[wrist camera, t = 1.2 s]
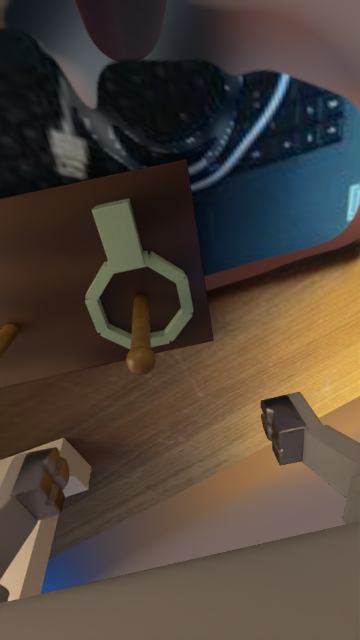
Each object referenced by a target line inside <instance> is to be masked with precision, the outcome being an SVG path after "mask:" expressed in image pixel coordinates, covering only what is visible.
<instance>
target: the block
mask: <svg viewBox="0 0 360 640" xmlns="http://www.w3.org/2000/svg"><path fill="white" fill-rule="evenodd" d="M53 447H57V448H58V449H59V451H60V457H62V458H64V459H66V461H67V463H68V466H69V480H68V484H67V486H66V487H65V488H64V489H63V493H64V495H65V497H68V496H71V495H74V494H77V493H79V492H82V491H85V490H88V487H89V483H88V481H89V480H90V473H91V468H92V467H91V466H90V465H89V464H88V463H87V462H86V461H85V460H84V459H83V458H82V456H81V455H80V454H79V453H78V452H77V451H76V450H75V449H74V448H73V447H72V446H71V445H70V444H69V443H68V442H67V441H66V439H65V438H61V439H59V440H56V441H53V442H50V443H47V444H44V445H42V446H39V447H36V448H33V449H30V450H28V451H25V452H22V453H19V454H23V453H28V452H33V451H38V450H43V449H48V448H53ZM19 454H16V455H19ZM16 455H14V456H11V457H8V458H5V459H2V460H0V487H1V484H2V482H3V480H4V477H5V475H6V473H7V470H8V468H9V466H10V463H11V461H12V459H13V458H14V457H15V456H16ZM58 516H59V515H58ZM58 516H55V517H51V518H47V519H43V520H39V521H38V523H37V525H36V526H35V528H34V529H33V531H32V532H31V534H30V535H29V537H28V538H27V540H26V541H25V543H24V544H23V546H22V547H21V549H20V551H19V552H18V554H17V555H16V557H15V558H14V560H13V561H12V563H11V564H10V566H9V567H8V569H7V570H6V572H5V573H4V575H3V576H2V578H1V579H0V584H1V585H2V586H4V587H5V588H7V589H8V590H9V593H10V594H9V598H8V601H12V600H16V599H20V598H25V597H29V596H34V595H38V594H40V593H41V588H42V584H43V580H44V576H45V571H46V567H47V563H48V559H49V554H50V550H51V546H52V541H53V537H54V533H55V528H56V524H57V520H58Z"/></svg>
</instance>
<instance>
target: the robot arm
mask: <svg viewBox="0 0 360 640" xmlns="http://www.w3.org/2000/svg"><path fill="white" fill-rule="evenodd" d="M261 409H262V411H263V413H262V414H261V418H262V424H263V428H264V431H265V434H266V436H267V438H268V439H269V440H270V441H272V448H273V452H274V454H275V456H276V458H277V460H278V462H279V465H285V464H290V463H295V462H300V461H302V462H303V463H304V464H305V465H306V466H307V467H309V468H310V469H311V470H312V471H314V472H315V473H316V474H317V475H318V476H320V477H321V478H322V479H323V480H325V481H326V482H327V483H328V484H330V485H331V486H332V487H333V488H334V489H336V490H337V491H338V492H339V493H340V494H342V495H343V496H344V497H345V498H347V500H346V505H345V509H344V513H343V517H342V518H343V519H344V521H345V523H346V525H342V526H337V527H333V528H329V529H324V530H320V531H316V532H311V533H307V534H302V535H298V536H294V537H289V538H285V539H280V540H276V541H271V542H267V543H263V544H258V545H254V546H250V547H245V548H240V549H236V550H232V551H227V552H223V553H218V554H214V555H210V556H206V557H201V558H196V559H192V560H188V561H183V562H179V563H174V564H170V565H166V566H161V567H157V568H153V569H148V570H144V571H139V572H135V573H130V574H126V575H122V576H117V577H113V578H108V579H104V580H100V581H95V582H91V583H87V584H82V585H78V586H73V587H69V588H64V589H61V590H56V591H51V592H47V593H42V594H38V595H34V596H29V597H25V598H20V599H16V600H12V601H8V598H9V594H10V593H9V590H8V589H7V588H5V587H4V586H2V585H1V584H0V640H360V443H358V442H357V441H355V440H353V439H351V438H350V437H348V436H346V435H344V434H342V433H341V432H339V431H337V430H335V429H334V428H332V427H330V426H328V425H324V426H323V425H322V423H321V422H320V420H319V419H318V417H317V416H316V414H315V413H314V411H313V410H312V408H311V407H310V406H309V404H308V403H307V401H306V400H305V398H304V397H303V395H302V394H301V393H300V392H297V393H292V394H288V395H282V396H278V397H274V398H270V399H265V400H261ZM68 480H69V466H68V463H67V461H66V459H64V458H62V457H60V451H59V449H58V448H57V447H53V448H48V449H43V450H38V451H33V452H28V453H23V454H19V455H16V456H15V457H14V458H13V459H12V461H11V463H10V466H9V468H8V470H7V473H6V475H5V477H4V480H3V482H2V484H1V487H0V579H1V578H2V576H3V575H4V573H5V572H6V570H7V569H8V567H9V566H10V564H11V563H12V561H13V560H14V558H15V557H16V555H17V554H18V552H19V551H20V549H21V547H22V546H23V544H24V543H25V541H26V540H27V538H28V537H29V535H30V534H31V532H32V531H33V529H34V528H35V526H36V525H37V523H38V521H39V520H43V519H47V518H51V517H55V516H58V515H61V511H62V507H63V502H64V498H65V495H64V493H63V489H64V488H65V487H66V486H67V484H68Z"/></svg>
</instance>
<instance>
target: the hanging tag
mask: <svg viewBox="0 0 360 640" xmlns="http://www.w3.org/2000/svg"><path fill="white" fill-rule="evenodd" d="M92 213H93V216H94V219H95V222H96V225H97V228H98V231H99V234H100V237H101V240H102V243H103V247H104V250H105V253H106V256H107V259H108V261H107V262H104V263H103V265H102V267H101V268H100V270H99V272H98V274H97V275H96V277H95V279H94V281H93V282H92V284H91V286H90V288H89V289H88V291H87V293H86V296H85V298H86V300H85V303H86V305H87V308H88V310H89V313H90V315H91V318H92V320H93V323H94V325H95V328H96V330H97V333H100V332H101V335H100V336H102V337H104V338H106V339H109V340H111V341H113V342H115V343H117V344H120V345H122V346H124V347H126V348H128V349H130V350H131V335H132V334H130V333H128V332H126V331H124V330H122V329H120V328H117V327H115V326H113V325H111V324H109V323H108V320H107V317H106V314H105V312H104V309H103V306H102V304H101V301H100V298H99V297H100V296H101V294H102V292H103V291H104V289H105V287H106V286H107V284H108V282H109V281H110V279H111V277H112V276H113V274H115V273H119V272H124V271H128V270H133V269H138V268H142V267H147V266H148V267H150V268H151V269H153V270H155V271H156V272H158V273H160V274H161V275H163V276H165V277H166V278H168V279H170V280H171V281H173V282H175V283H176V286H177V291H178V295H179V300H180V305H181V308H180V310H179V311H178V312H177V314H176V315H175V316H174V318H173V319H172V320H171V322H170V323H169V324H168V326H167V327H166V329H165V330H162V331H157V332H153V333H150V338H151V347H155V346H160V345H164V344H169V343H170V341H169V340H171V341H173V340H174V339H175V338H176V336H177V335H178V334H179V333H180V331H181V330H182V329H183V327H184V326H185V325H186V323H187V322H188V321H189V320H190V318H191V317H192V316H193V315H192V312H194V311H193V305H192V299H191V294H190V288H189V283H188V278H187V276H186V275H185V273H184V271H182V270H181V269H179V268H178V267H176V266H174V265H173V264H171V263H170V262H168V261H166V260H165V259H163V258H162V257H160V256H158V255H157V254H155V253H154V252H152V251H151V252H150V254H149V255H148V251H143V250H142V246H141V242H140V238H139V234H138V230H137V226H136V222H135V219H134V215H133V211H132V207H131V203H130V199H129V198H128V199H124V200H119V201H114V202H110V203H105V204H101V205H96V206H95V207H94V208H93V209H92Z"/></svg>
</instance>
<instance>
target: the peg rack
mask: <svg viewBox="0 0 360 640" xmlns="http://www.w3.org/2000/svg"><path fill="white" fill-rule="evenodd" d="M128 198H129V199H130V203H131V207H132V211H133V215H134V219H135V222H136V226H137V230H138V234H139V238H140V242H141V246H142V250H143V251H148V255H149V254H150V252H151V251H152V252H154V253H155V254H157V255H158V256H160V257H162V258H163V259H165V260H166V261H168V262H170V263H171V264H173V265H174V266H176V267H178V268H179V269H181V270H182V271H184V273H185V275H186V276H187V278H188V283H189V288H190V294H191V299H192V305H193V311H194V312H192V315H193V316H192V317H191V318H190V320H189V321H188V322H187V323H186V325H185V326H184V327H183V329H182V330H181V331H180V333H179V334H178V335H177V336H176V338H175V339H174V340H173V341H171V340H169V341H170V343H169V344H164V345H160V346H155V347H151V338H150V333H153V332H157V331H162V330H165V329H166V327H167V326H168V324H169V323H170V322H171V320H172V319H173V318H174V316H175V315H176V314H177V312H178V311H179V310H180V308H181V305H180V300H179V295H178V291H177V286H176V283H175V282H173V281H171V280H170V279H168V278H166V277H165V276H163V275H161V274H160V273H158V272H156V271H155V270H153V269H151V268H150V267H148V266H147V267H142V268H138V269H133V270H128V271H124V272H119V273H115V274H113V276H112V277H111V279H110V281H109V282H108V284H107V286H106V287H105V289H104V291H103V292H102V294H101V296H100V297H99V298H100V301H101V304H102V306H103V309H104V312H105V314H106V317H107V320H108V323H109V324H111V325H113V326H115V327H117V328H120V329H122V330H124V331H126V332H128V333H130V334H132V335H131V350H130V349H128V348H126V347H124V346H122V345H120V344H117V343H115V342H113V341H111V340H109V339H106V338H104V337H102V336H100V335H101V332H100V333H97V330H96V328H95V325H94V323H93V320H92V318H91V315H90V313H89V310H88V308H87V305H86V303H85V300H86V298H85V296H86V293H87V291H88V289H89V288H90V286H91V284H92V282H93V281H94V279H95V277H96V275H97V274H98V272H99V270H100V268H101V267H102V265H103V263H104V262H107V261H108V259H107V256H106V253H105V250H104V247H103V243H102V240H101V237H100V234H99V231H98V228H97V225H96V222H95V219H94V216H93V213H92V209H93V208H94V207H95V206H96V205H101V204H105V203H110V202H114V201H119V200H124V199H128ZM209 341H213V333H212V327H211V320H210V313H209V306H208V300H207V293H206V286H205V280H204V273H203V266H202V259H201V253H200V246H199V239H198V232H197V226H196V219H195V212H194V205H193V199H192V192H191V185H190V178H189V172H188V165H187V160H186V159H183V160H179V161H174V162H169V163H165V164H160V165H155V166H151V167H146V168H141V169H137V170H132V171H127V172H123V173H118V174H113V175H109V176H104V177H99V178H95V179H90V180H85V181H81V182H76V183H71V184H67V185H62V186H57V187H53V188H48V189H43V190H39V191H34V192H29V193H25V194H20V195H15V196H11V197H6V198H1V199H0V388H1V387H5V386H10V385H14V384H19V383H23V382H28V381H32V380H37V379H42V378H46V377H51V376H55V375H60V374H64V373H69V372H73V371H78V370H82V369H87V368H91V367H96V366H100V365H105V364H110V363H114V362H119V361H123V360H126V364H127V367H128V369H129V370H130V371H131V372H132V373H134V374H136V375H144V374H147V373H149V372H150V371H151V370H152V369H153V368H154V365H155V361H156V359H155V355H154V354H155V353H159V352H164V351H169V350H173V349H178V348H182V347H187V346H191V345H196V344H200V343H205V342H209Z"/></svg>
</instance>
